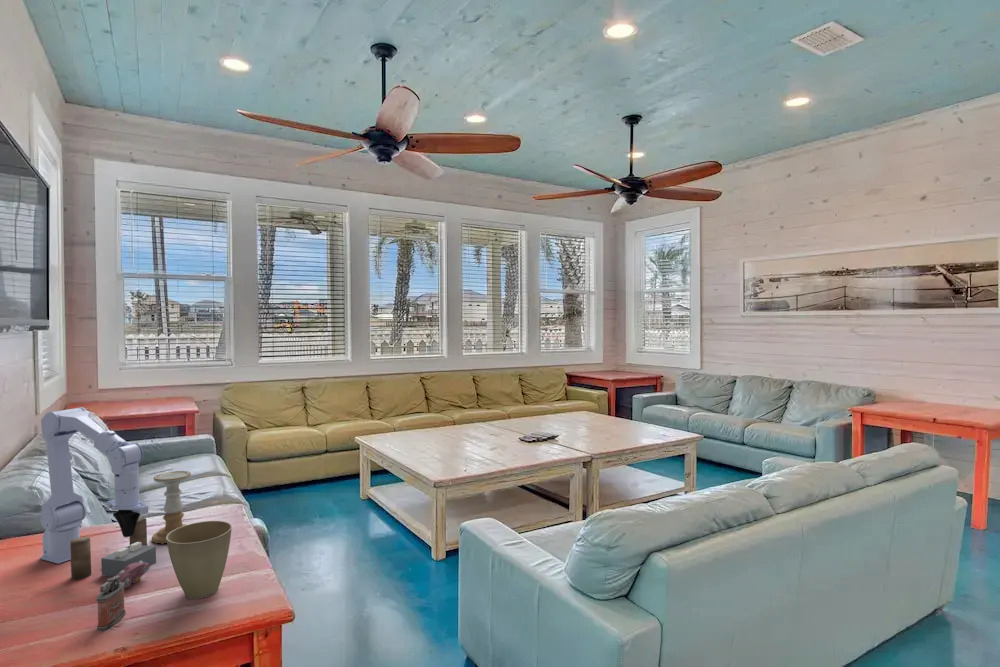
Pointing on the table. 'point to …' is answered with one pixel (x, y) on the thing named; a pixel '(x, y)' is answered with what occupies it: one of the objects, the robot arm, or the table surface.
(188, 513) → the table surface
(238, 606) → the table surface
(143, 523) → the walnut post
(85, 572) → the walnut post
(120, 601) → the lighter
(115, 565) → the block
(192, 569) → the plant pot
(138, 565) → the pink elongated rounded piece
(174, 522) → the candle holder
